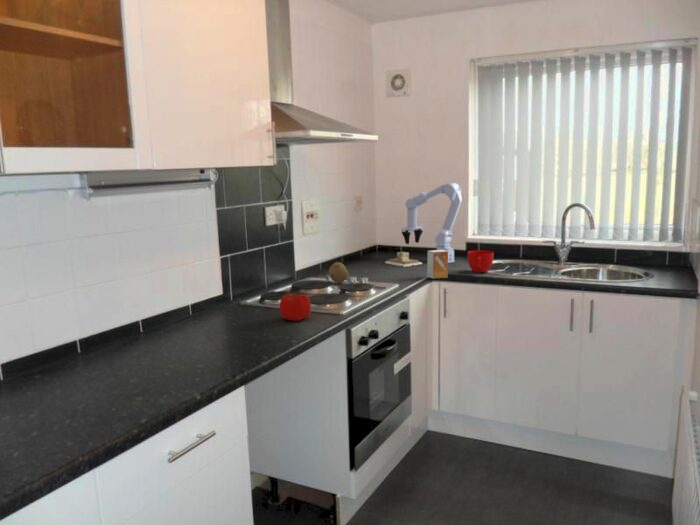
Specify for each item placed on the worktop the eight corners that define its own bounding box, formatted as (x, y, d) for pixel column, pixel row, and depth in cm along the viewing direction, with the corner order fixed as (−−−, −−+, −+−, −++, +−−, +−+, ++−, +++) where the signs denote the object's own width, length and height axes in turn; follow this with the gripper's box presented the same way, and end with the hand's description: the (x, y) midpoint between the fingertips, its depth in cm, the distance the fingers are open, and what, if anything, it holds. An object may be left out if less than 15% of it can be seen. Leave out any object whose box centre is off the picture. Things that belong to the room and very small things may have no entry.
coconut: (325, 282, 271) (324, 261, 269) (342, 280, 275) (341, 259, 273) (333, 285, 263) (333, 264, 261) (351, 283, 267) (350, 262, 265)
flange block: (393, 261, 322) (393, 252, 321) (401, 260, 325) (401, 251, 324) (404, 263, 314) (404, 254, 313) (413, 262, 317) (413, 253, 316)
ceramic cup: (465, 275, 284) (465, 254, 282) (468, 269, 300) (468, 250, 298) (492, 276, 280) (492, 255, 279) (493, 270, 296) (494, 250, 295)
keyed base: (422, 264, 317) (422, 260, 316) (404, 266, 309) (404, 262, 309) (402, 260, 329) (402, 256, 329) (385, 263, 322) (385, 259, 321)
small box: (433, 279, 275) (433, 252, 273) (426, 276, 281) (427, 250, 279) (448, 277, 278) (448, 251, 276) (441, 275, 284) (442, 249, 282)
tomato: (317, 318, 207) (317, 293, 206) (293, 325, 199) (292, 299, 197) (297, 313, 214) (296, 289, 213) (272, 320, 206) (271, 295, 204)
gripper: (416, 218, 338) (416, 241, 340) (398, 220, 329) (398, 243, 331) (425, 219, 332) (425, 242, 334) (406, 220, 323) (406, 244, 326)
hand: (412, 243), depth 332 cm, fingers open, 7 cm apart
